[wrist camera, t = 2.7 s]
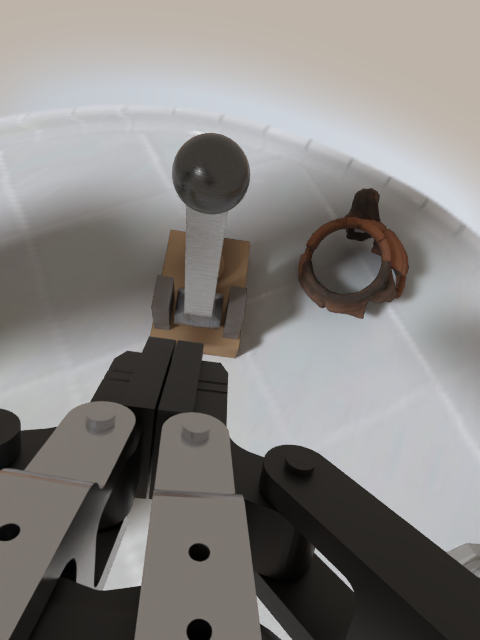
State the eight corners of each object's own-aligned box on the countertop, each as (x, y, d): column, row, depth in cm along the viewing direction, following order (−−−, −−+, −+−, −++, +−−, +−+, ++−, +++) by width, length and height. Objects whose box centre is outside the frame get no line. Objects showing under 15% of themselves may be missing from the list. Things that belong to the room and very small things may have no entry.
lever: (172, 333, 35) (164, 172, 19) (179, 292, 37) (178, 108, 20) (218, 340, 36) (251, 186, 19) (223, 298, 37) (258, 122, 20)
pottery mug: (408, 329, 42) (405, 313, 35) (307, 327, 46) (284, 311, 38) (411, 206, 44) (409, 164, 36) (314, 212, 47) (294, 176, 40)
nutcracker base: (151, 347, 38) (146, 315, 32) (171, 245, 42) (169, 200, 36) (235, 358, 38) (245, 329, 33) (246, 256, 42) (257, 214, 37)
